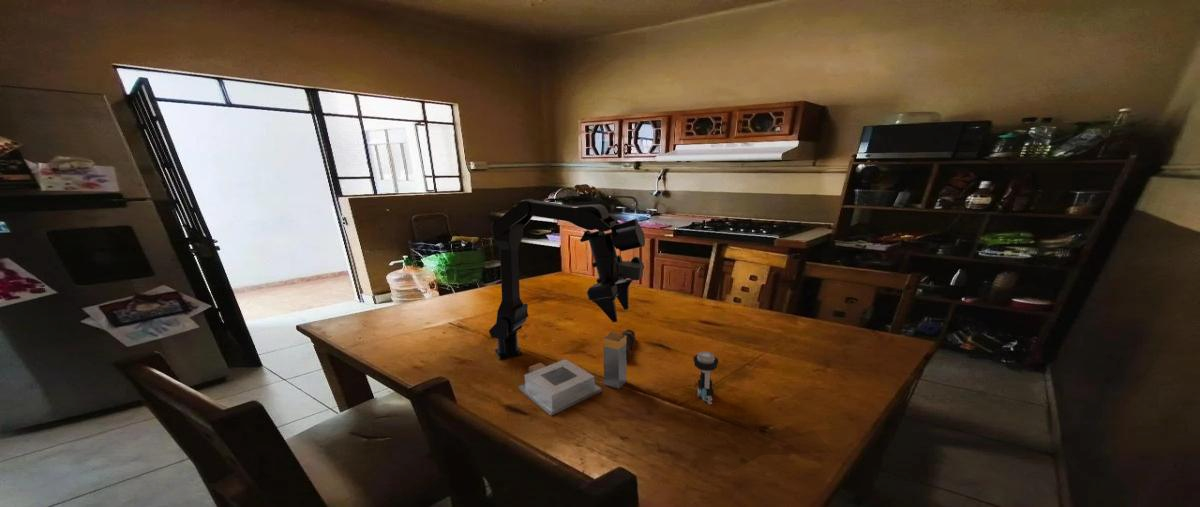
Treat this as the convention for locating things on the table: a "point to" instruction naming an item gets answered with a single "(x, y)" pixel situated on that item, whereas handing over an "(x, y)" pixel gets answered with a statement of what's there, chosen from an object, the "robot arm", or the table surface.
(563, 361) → the grey socket base
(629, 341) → the bolt
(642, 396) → the table surface
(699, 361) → the push button
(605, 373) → the grey square peg
